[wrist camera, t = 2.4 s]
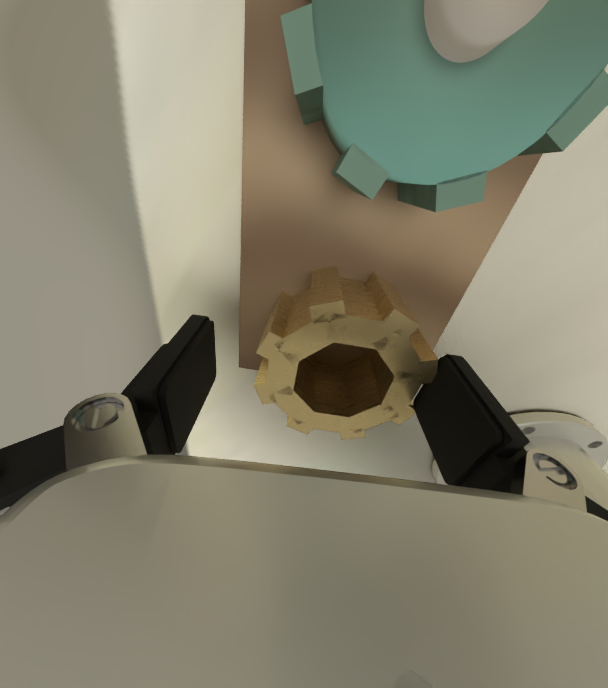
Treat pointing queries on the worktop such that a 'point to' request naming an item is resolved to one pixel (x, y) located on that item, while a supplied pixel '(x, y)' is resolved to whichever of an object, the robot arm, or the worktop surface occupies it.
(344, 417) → the brass gear
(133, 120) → the worktop surface
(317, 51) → the gear board
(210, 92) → the worktop surface
